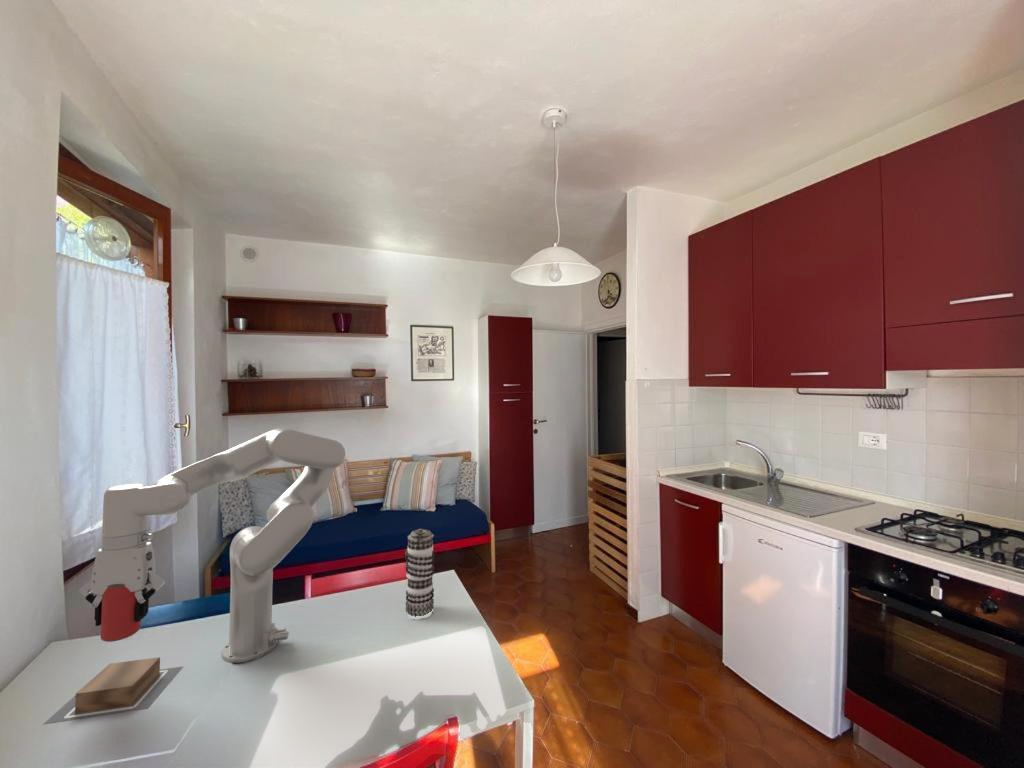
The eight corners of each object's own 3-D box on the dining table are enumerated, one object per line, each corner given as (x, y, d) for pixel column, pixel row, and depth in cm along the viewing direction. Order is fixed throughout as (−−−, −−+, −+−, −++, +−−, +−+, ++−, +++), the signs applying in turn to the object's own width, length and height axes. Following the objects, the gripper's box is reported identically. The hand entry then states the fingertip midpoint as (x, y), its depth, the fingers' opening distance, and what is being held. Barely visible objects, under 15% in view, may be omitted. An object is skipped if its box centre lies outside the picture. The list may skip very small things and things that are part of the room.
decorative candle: (406, 606, 131) (407, 527, 132) (435, 604, 132) (436, 526, 133) (402, 621, 122) (403, 536, 123) (433, 619, 123) (434, 535, 124)
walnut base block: (159, 674, 98) (160, 657, 98) (131, 704, 88) (132, 685, 88) (109, 681, 96) (109, 663, 96) (74, 713, 86) (75, 693, 86)
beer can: (115, 645, 88) (117, 588, 89) (92, 641, 90) (94, 585, 90) (148, 628, 95) (150, 575, 95) (125, 625, 96) (127, 573, 96)
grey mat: (183, 668, 101) (183, 666, 101) (147, 710, 87) (147, 708, 87) (94, 679, 96) (94, 677, 97) (42, 726, 83) (42, 723, 83)
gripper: (178, 532, 99) (175, 608, 98) (91, 537, 95) (87, 616, 94) (159, 543, 91) (156, 624, 91) (64, 549, 87) (60, 635, 87)
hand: (121, 620), depth 92 cm, fingers closed on beer can, 6 cm apart
